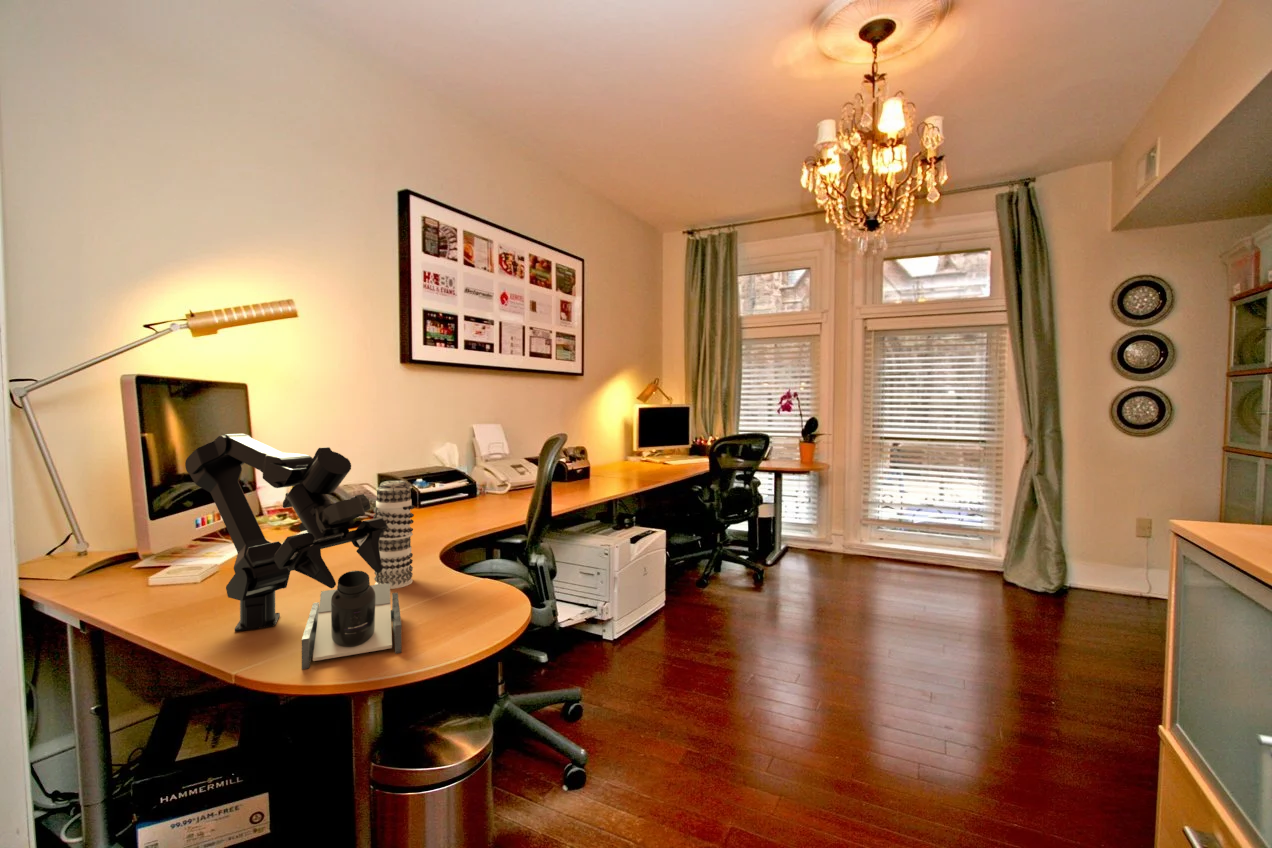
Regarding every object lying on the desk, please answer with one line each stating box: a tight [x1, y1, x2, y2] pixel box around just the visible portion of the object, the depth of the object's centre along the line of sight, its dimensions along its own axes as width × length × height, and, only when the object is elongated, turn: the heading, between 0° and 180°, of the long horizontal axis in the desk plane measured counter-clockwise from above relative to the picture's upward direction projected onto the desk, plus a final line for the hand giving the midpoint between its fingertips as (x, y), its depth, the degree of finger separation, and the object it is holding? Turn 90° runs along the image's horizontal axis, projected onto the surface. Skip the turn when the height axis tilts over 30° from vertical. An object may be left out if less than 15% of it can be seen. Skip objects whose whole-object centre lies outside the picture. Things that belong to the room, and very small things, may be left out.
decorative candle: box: [372, 480, 415, 590], centre depth 131 cm, size 9×9×25 cm
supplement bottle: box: [331, 570, 376, 647], centre depth 93 cm, size 7×7×12 cm
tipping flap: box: [312, 583, 393, 662], centre depth 99 cm, size 17×12×3 cm
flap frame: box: [301, 592, 402, 670], centre depth 99 cm, size 18×15×5 cm
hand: (358, 578), depth 94 cm, fingers open, 9 cm apart
